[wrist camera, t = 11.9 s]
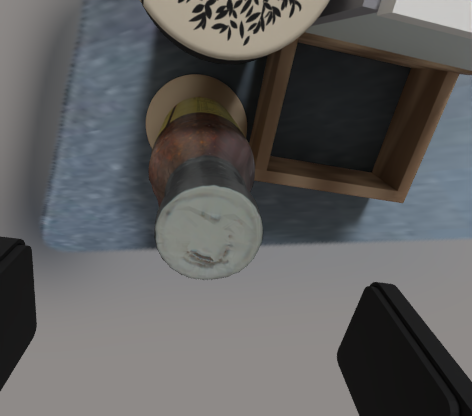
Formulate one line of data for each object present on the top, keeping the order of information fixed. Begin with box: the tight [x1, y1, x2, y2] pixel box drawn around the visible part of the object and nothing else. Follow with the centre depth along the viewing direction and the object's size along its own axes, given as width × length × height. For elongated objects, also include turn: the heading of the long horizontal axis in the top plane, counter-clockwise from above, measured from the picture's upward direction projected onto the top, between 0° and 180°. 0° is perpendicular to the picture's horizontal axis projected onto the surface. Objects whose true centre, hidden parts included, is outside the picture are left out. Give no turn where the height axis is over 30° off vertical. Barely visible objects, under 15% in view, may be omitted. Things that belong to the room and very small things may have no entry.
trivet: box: [146, 74, 247, 149], centre depth 30 cm, size 9×9×1 cm
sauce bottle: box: [149, 97, 263, 280], centre depth 21 cm, size 7×6×20 cm
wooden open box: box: [249, 32, 472, 203], centre depth 28 cm, size 14×12×7 cm
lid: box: [305, 0, 472, 71], centre depth 20 cm, size 15×1×20 cm, turn 79°
